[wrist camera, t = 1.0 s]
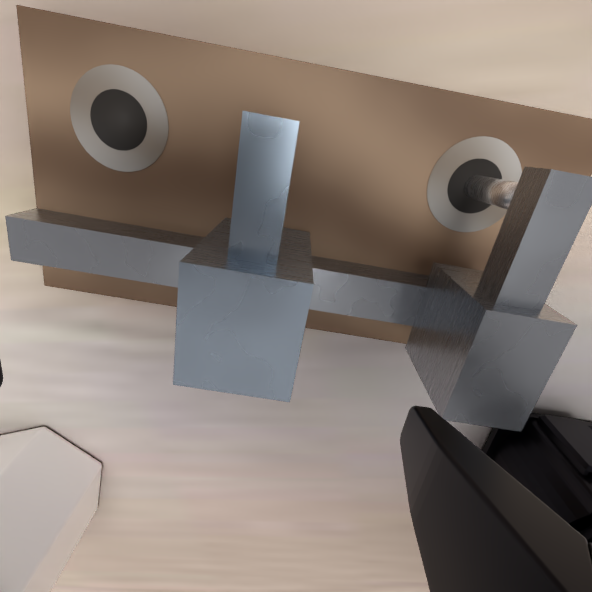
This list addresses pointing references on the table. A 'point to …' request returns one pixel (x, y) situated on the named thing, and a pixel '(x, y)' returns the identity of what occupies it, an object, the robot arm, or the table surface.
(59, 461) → the jar
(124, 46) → the hole plate
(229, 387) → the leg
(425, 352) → the beam
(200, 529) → the table surface
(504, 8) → the table surface
